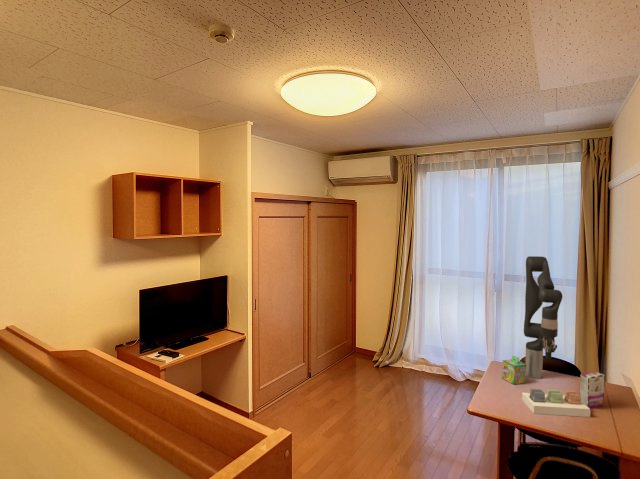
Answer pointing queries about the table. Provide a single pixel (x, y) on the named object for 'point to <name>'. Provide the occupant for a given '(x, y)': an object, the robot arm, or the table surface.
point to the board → (556, 407)
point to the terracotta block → (572, 397)
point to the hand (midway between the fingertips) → (548, 358)
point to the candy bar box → (592, 389)
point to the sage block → (555, 396)
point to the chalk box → (514, 371)
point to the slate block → (537, 395)
